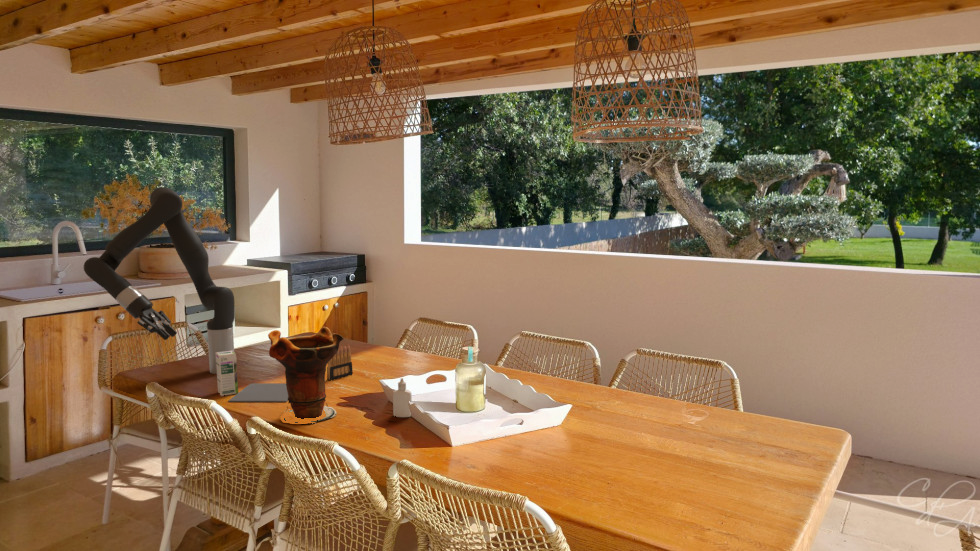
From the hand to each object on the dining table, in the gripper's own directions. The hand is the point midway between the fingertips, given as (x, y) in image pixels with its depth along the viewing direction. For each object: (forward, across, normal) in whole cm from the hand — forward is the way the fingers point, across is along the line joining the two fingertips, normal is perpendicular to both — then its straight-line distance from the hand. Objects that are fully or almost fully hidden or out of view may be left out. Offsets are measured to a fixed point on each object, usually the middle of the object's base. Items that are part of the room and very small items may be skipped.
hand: (171, 336), depth 234 cm
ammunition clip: (+52, +20, -23) cm, 60 cm away
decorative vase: (+52, -23, -23) cm, 61 cm away
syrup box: (+28, 0, +1) cm, 28 cm away
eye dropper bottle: (+73, -23, -44) cm, 89 cm away
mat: (+37, 0, -9) cm, 38 cm away
